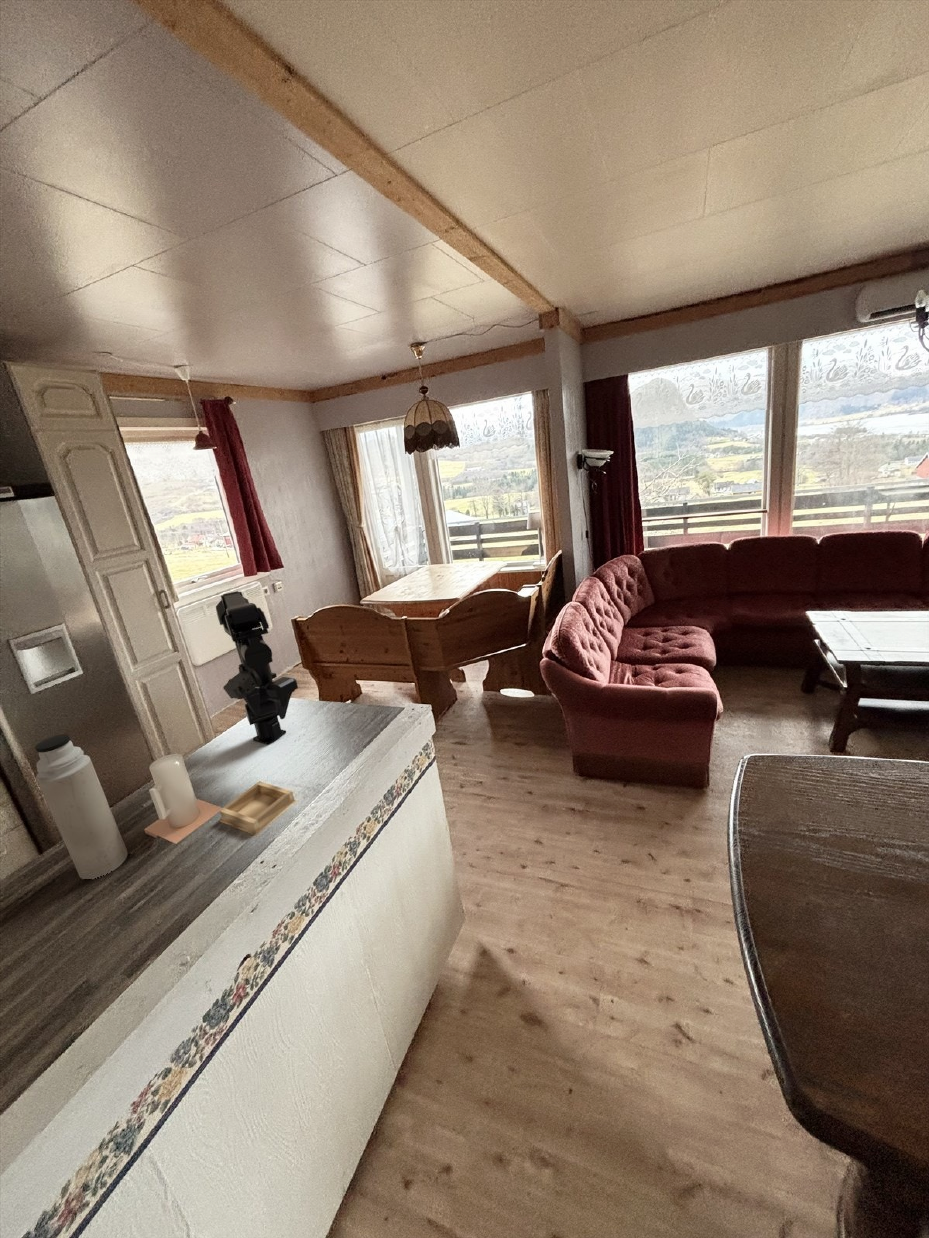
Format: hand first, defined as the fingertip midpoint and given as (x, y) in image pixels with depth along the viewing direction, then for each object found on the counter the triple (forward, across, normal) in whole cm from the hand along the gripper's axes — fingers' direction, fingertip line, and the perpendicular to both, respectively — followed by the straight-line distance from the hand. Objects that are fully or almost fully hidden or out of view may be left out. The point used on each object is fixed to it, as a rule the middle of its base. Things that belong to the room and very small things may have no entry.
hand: (270, 716), depth 121 cm
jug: (+12, -3, -25) cm, 28 cm away
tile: (+13, -3, -24) cm, 28 cm away
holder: (+14, +11, -16) cm, 24 cm away
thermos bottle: (+14, -8, -38) cm, 41 cm away
